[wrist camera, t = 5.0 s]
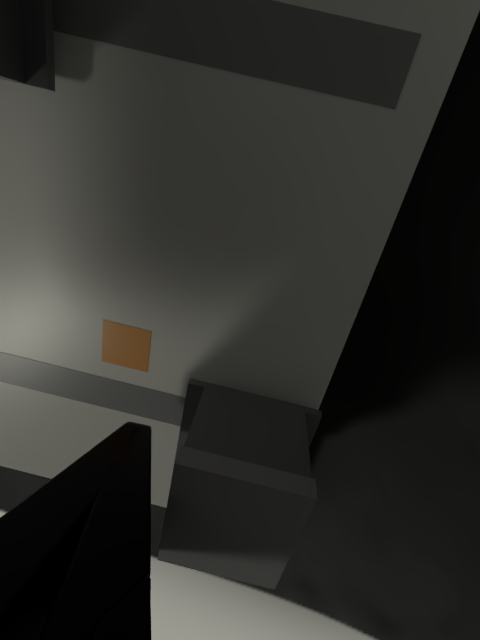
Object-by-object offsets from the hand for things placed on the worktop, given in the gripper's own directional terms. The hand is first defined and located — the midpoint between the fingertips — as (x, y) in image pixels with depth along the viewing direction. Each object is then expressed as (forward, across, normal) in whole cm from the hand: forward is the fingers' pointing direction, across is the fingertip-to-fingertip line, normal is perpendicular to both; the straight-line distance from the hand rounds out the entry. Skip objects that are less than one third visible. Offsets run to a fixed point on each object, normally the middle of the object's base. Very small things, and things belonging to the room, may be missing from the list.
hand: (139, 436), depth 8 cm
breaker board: (+2, +1, -3) cm, 4 cm away
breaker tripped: (+1, -2, 0) cm, 3 cm away
